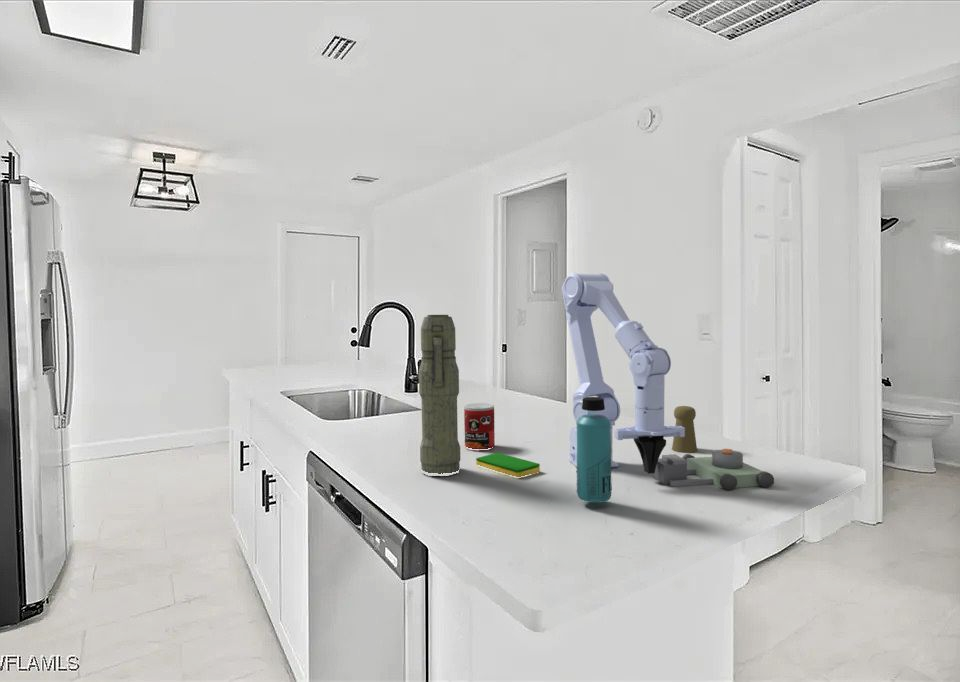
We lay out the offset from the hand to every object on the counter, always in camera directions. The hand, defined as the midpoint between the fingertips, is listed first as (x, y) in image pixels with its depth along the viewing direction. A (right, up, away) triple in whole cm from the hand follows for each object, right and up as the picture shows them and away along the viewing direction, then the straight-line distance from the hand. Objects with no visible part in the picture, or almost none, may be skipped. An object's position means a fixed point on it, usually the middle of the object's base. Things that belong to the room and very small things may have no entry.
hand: (649, 472), depth 123 cm
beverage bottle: (-14, -3, -13) cm, 20 cm away
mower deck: (+13, -2, +2) cm, 13 cm away
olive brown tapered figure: (+16, 0, +26) cm, 31 cm away
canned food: (-35, -1, +31) cm, 47 cm away
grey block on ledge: (+4, -2, +1) cm, 5 cm away
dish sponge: (-29, -2, +11) cm, 31 cm away
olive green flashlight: (-44, -2, +9) cm, 45 cm away
